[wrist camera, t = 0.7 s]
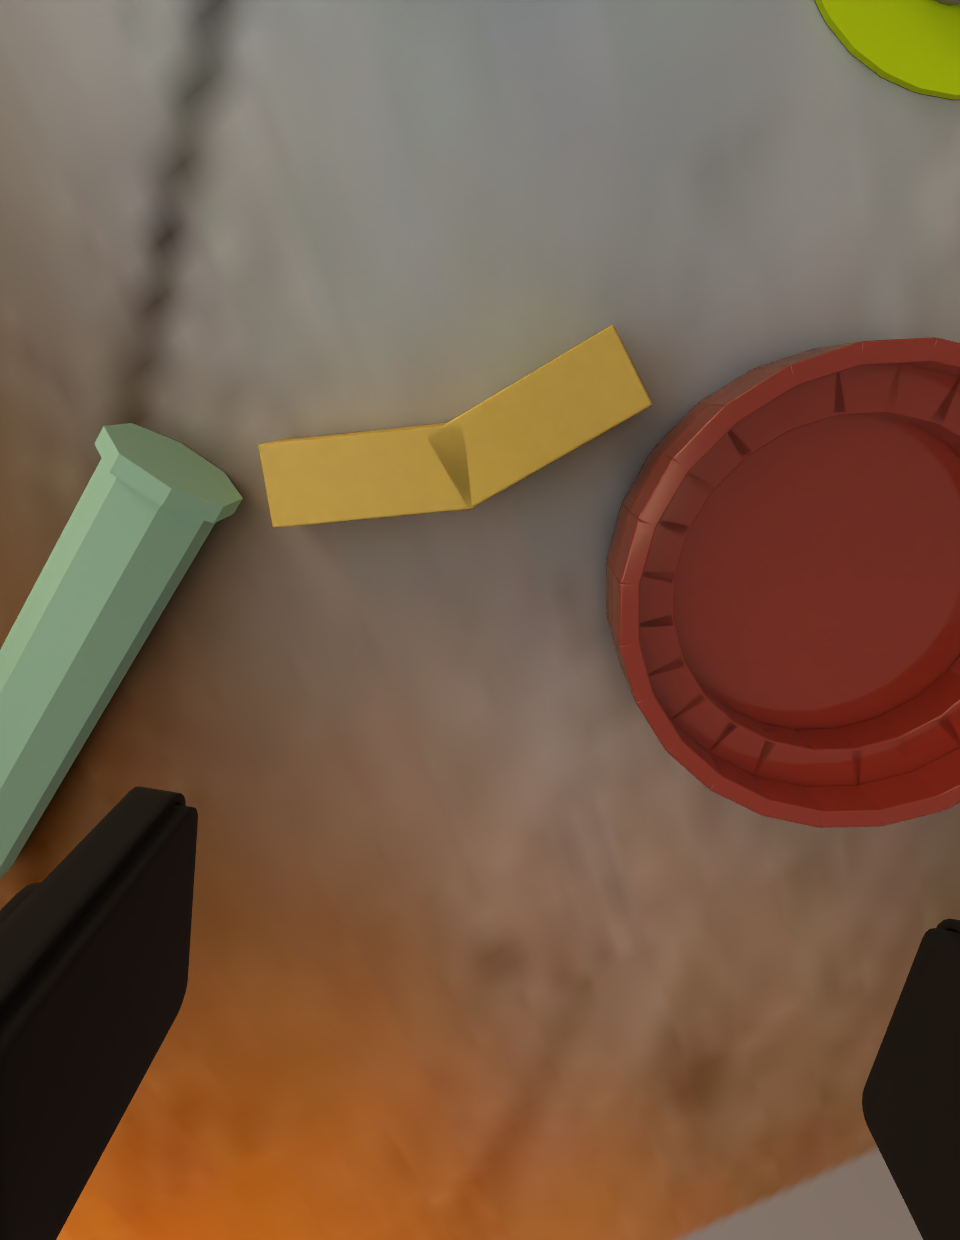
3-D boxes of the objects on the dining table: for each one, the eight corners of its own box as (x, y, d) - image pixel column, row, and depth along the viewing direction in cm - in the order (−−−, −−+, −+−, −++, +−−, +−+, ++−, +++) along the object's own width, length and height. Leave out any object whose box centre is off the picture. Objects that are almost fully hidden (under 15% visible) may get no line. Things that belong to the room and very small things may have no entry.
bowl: (553, 432, 33) (560, 438, 28) (1019, 280, 31) (1113, 259, 26) (662, 815, 38) (684, 875, 33) (1070, 710, 36) (1157, 758, 31)
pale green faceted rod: (-86, 948, 35) (169, 500, 28) (-155, 857, 36) (71, 409, 29) (32, 896, 40) (268, 511, 33) (-33, 819, 42) (182, 434, 35)
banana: (266, 445, 34) (241, 450, 31) (619, 325, 32) (631, 318, 29) (307, 552, 35) (288, 567, 32) (649, 443, 33) (663, 448, 30)
